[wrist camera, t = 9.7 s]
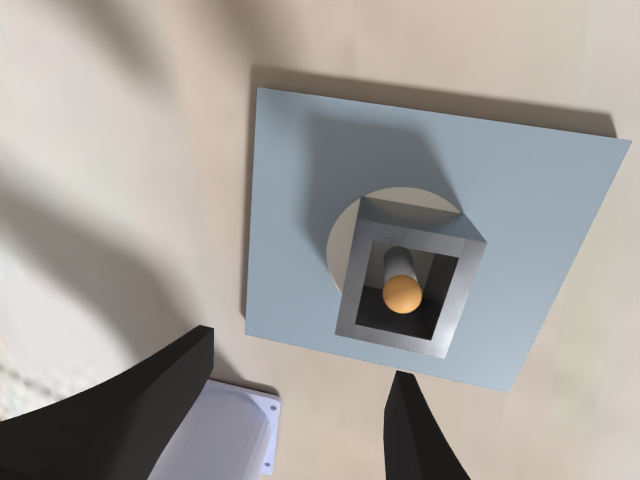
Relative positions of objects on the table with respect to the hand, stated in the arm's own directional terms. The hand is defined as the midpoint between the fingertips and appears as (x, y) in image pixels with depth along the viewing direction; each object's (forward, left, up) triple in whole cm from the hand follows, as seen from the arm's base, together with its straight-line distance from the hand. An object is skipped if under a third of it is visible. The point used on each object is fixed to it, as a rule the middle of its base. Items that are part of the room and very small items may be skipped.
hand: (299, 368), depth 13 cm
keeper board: (+2, -4, -9) cm, 10 cm away
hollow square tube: (+2, -4, -8) cm, 9 cm away
